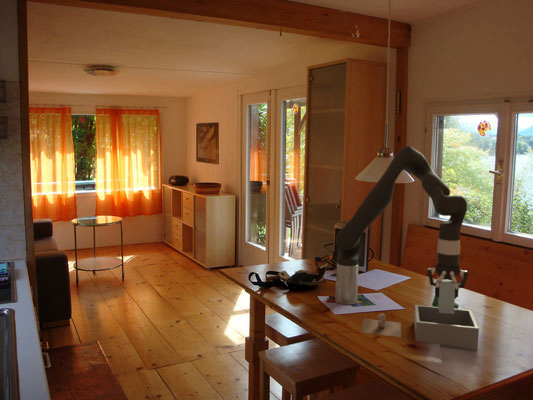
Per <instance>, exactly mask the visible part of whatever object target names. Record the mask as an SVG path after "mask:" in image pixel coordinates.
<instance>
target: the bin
mask: <svg viewBox="0 0 533 400" xmlns="http://www.w3.org/2000/svg"><path fill="white" fill-rule="evenodd" d="M413 318H414V319H413V321H414V322H413V324H414V326H413V327H414V336H415V337H414V338H415V342H418V343H427V344H435V345H436V344H437V345H440V348H447V349H456V350H464V351H465V350H466V351H472V352H473V351H474V352H478V346H479V333H480V331H479V330H480V328H479V326H478V323H477V321H476V319H475V316H474V314H473V312H472V309H465V308H464V309H463V308H458V309H454V314H449V313H439V310H438V307H433V306H432V305H421V304H415V305H414V317H413Z"/></svg>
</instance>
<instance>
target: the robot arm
mask: <svg viewBox="0 0 533 400" xmlns="http://www.w3.org/2000/svg"><path fill="white" fill-rule="evenodd" d="M403 171H405V172H406V173H409V174H411V175H412V176H415V177H416V178H417V179H418V180H419V181H420V183H421V187H422V188H423V190H424V191H425V193H426V194H427V195H428V196H429V197H430V199H431V201H432V204H433V207H434V210H435V211H436V213H437V214H438V215H440V216H443V217H448V216H449V219H448V220H445V221H443V222H441V223H440V224H439V226H438V228H439V229H438V241H437V247H436V248H437V251H436V265H435V267H427V268H426V269H427V270H426V271H427V274H428V279H429V284H430V286H433V287H434V296H437V298H439V282H442V280H446V279H448V280H453V283H455V300H457V298H458V297H459V290H460V289H463V288H465V285H466V282H467V280H468V276H469V272H468V270H462V269H461V268H460V260H461V259H460V258H461V256H460V255H461V228H462V225H463V223H464V221H465V216H466V214H467V210H468V202H467V201H466V198H465V197H464V196H463V195H459V194H458V195H456V194H455V195H450V194H451V191H450V187H448V185H447V184H446V183H445V182H444V181H443V180H442V179H441V178H440V177H439V176H438V175H437V174H436V173H435V171H434V170H433V169H432V167H431V165H430V164H429V162H428V160H427V158H426V157H425V156H424V154H423V153H422V152H420V151H419V150H417V149H415V148H414V147H411V146H409V145H406V146H402V148H400V149H399V150H398V152H397V153H396V154H395V156H394V157H393V159H392V160H391V162H390V163H389V165H388V166H387V168H386V169H385V171H384V172H383V174H382V176H381V177H380V178H379V179H378V181H377V182H376V183H375V184H374V187H372V188H371V190H370V191H369V192H368V194H367V195H366V196H365V198H364V199H363V201H362V202H361V203H360V205H359V207H358V208H357V209H356V211H355V213H354V215H353V216H352V218H350V220H349V221H348V222H347V223H346V224H345V225H344V227H342V228H341V229H340V230H339V231H338V232H337V234H336V238H335V243H336V245H337V246H338V254H337V257H336V280H335V294H334V295H335V299H334V301H335V303H337V304H341V305H347V306H348V305H355V304H357V303H358V286H359V284H358V283H359V282H358V281H359V259H360V254H361V253H360V252H361V237H362V235H363V233H364V232H365V231H366V229H368V227H369V226H370V225H371V224H373V222H374V221H376V220H377V218H378V217H380V216H381V215H382V214H383V212H385V209H386V208H387V207H388V206H389V204H390V203H391V202H392V199H393V196H394V191H395V183H396V181H397V179H398V177H400V174H402V172H403ZM435 272H436V274H437V275H438V276H437V278H436V281H434V278H433V275H434V274H435ZM459 274H460V276H461V279H460V282H459V283H458V281H457V276H458V275H459Z"/></svg>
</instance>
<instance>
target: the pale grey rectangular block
mask: <svg viewBox="0 0 533 400" xmlns="http://www.w3.org/2000/svg"><path fill="white" fill-rule="evenodd" d="M455 300H456V299H455V283H453V280H448V279H446V280H442V282H439V298H438V310H439V313H449V314H454V307H455V303H456V301H455Z"/></svg>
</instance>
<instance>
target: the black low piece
mask: <svg viewBox="0 0 533 400" xmlns="http://www.w3.org/2000/svg"><path fill="white" fill-rule="evenodd" d="M328 266H329V263H324V264H323V265H321V266H319V265H317V266H316V270H315V271H311V270H306V269H299V270H295V271H294V275H295V274H296V273H299V272H306V273H309V274H315V275H318V274H319V272H320V271H321V269H322V268H323V267H325V270H326V269H327V268H328ZM281 273H283V274H284V276H283V275H282V274H281ZM277 276H278V279H279V280H280V281H283V282H286V283H287V282H290V281H291V280H288V279H289V278H290V277H292V276H290V274H289V273H288V272H287V271H286V270H281V271H279V272H278V274H277ZM324 280H325V277H324V275H323V276H322V278H321V279H320V280H319V281H312V282H303V281H298V282H299V284H307V285H309V286H308V287H310V286H311V287H312V286H316V285H318V284H320V283H322V282H324Z"/></svg>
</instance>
